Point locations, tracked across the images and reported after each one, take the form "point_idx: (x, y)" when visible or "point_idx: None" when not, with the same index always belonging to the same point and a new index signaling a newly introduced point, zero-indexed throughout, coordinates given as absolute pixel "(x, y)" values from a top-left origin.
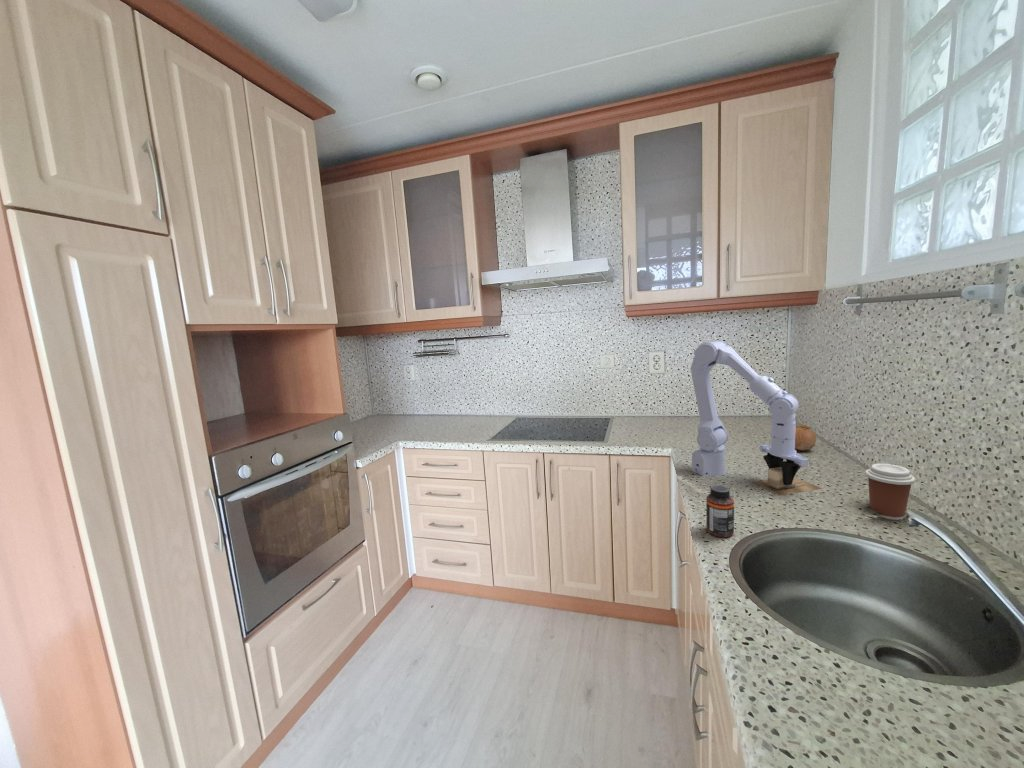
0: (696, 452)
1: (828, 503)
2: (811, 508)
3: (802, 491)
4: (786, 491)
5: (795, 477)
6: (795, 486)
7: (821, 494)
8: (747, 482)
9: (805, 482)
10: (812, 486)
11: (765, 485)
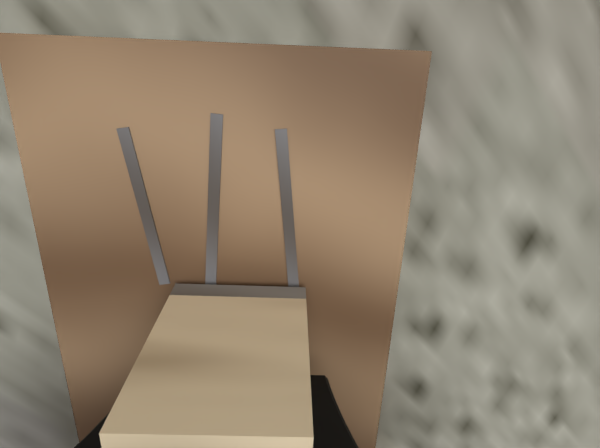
0: None
1: (587, 220)
2: (563, 388)
3: (395, 297)
4: (338, 399)
5: (308, 360)
6: (305, 290)
7: (442, 102)
8: (27, 430)
9: (223, 69)
10: (342, 102)
11: None
